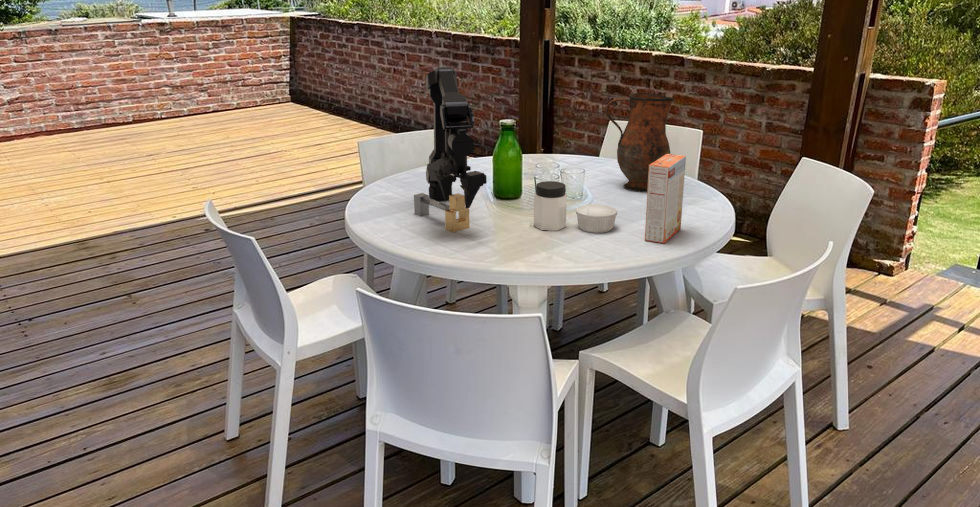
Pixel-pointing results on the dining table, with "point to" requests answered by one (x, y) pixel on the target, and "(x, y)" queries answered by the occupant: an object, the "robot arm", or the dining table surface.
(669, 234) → the cracker box
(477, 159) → the dining table surface
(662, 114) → the pitcher
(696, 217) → the dining table surface
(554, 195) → the jar
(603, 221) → the ramekin
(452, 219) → the stirrup
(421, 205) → the hook post
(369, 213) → the dining table surface
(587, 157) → the dining table surface
